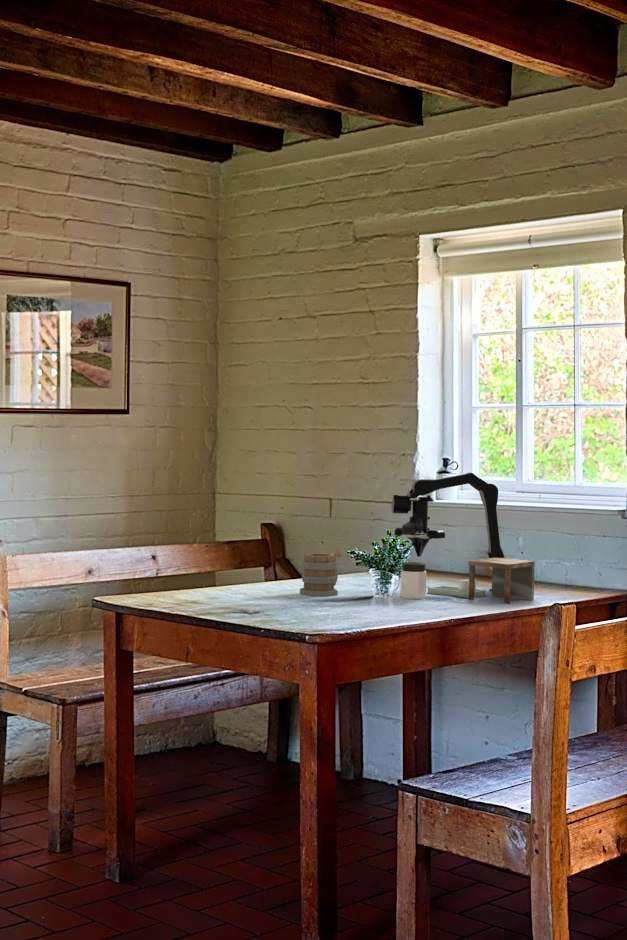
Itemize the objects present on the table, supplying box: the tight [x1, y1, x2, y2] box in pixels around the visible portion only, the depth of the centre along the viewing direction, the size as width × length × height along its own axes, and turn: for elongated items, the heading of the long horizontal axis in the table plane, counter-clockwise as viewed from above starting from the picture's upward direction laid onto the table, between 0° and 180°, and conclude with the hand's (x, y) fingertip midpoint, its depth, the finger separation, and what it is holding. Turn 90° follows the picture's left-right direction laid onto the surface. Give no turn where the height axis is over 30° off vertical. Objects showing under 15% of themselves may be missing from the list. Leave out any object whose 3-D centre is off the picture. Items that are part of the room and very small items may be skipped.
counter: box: [467, 557, 536, 605], centre depth 446 cm, size 18×16×14 cm
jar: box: [399, 561, 427, 600], centre depth 446 cm, size 9×8×12 cm
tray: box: [427, 578, 487, 599], centre depth 457 cm, size 10×18×6 cm, turn 52°
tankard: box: [299, 549, 343, 598], centre depth 452 cm, size 20×13×15 cm, turn 143°
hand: (418, 556), depth 467 cm, fingers closed
